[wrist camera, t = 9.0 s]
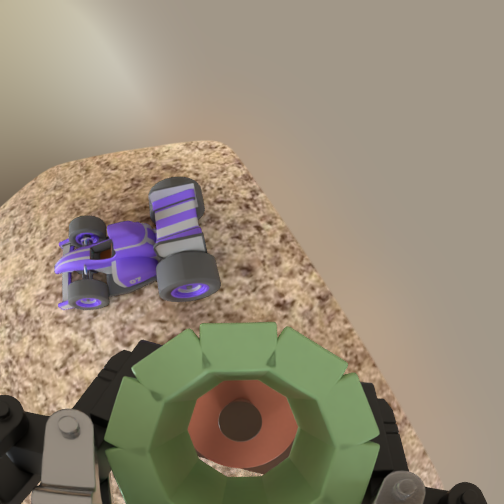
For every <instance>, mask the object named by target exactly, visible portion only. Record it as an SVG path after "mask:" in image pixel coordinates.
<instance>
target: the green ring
mask: <svg viewBox="0 0 504 504" xmlns="http://www.w3.org/2000/svg"><path fill="white" fill-rule="evenodd" d="M347 366H348V363H347V362H346V361H344V360H343V359H341V358H339V357H338V356H336V355H334V354H333V353H331V352H330V351H328V350H326V349H325V348H323V347H321V346H320V345H318V344H317V343H315V342H313V341H312V340H310V339H308V338H307V337H305V336H304V335H302V334H300V333H299V332H297V331H296V330H294V329H293V328H291V327H288V326H287V327H285V328H284V329H283V331H282V332H281V334H280V335H279V337H278V338H277V324H276V323H275V322H253V323H202V324H200V339H199V338H198V337H197V335H196V334H195V333H194V332H193V330H191V329H190V328H189V329H186V330H184V331H183V332H181V333H180V334H179V335H177V336H176V337H174V338H173V339H171V340H170V341H169V342H167V343H166V344H164V345H163V346H161V347H160V348H158V349H157V350H155V351H154V352H153V353H151V354H150V355H148V356H147V357H145V358H144V359H142V360H141V361H139V362H138V363H137V364H135V365H134V366H133V367H132V372H133V373H134V375H135V376H136V378H132V377H126V376H124V377H123V379H122V382H121V385H120V388H119V391H118V394H117V397H116V401H115V404H114V407H113V410H112V413H111V417H110V420H109V423H108V427H107V430H106V433H105V437H104V440H105V441H106V442H108V443H110V444H112V445H114V446H115V447H112V448H109V449H107V450H105V453H106V456H107V459H108V462H109V464H110V467H111V469H112V472H113V475H114V477H115V480H116V482H117V484H118V487H119V489H120V491H121V494H122V496H123V498H124V500H125V503H126V504H361V503H362V500H363V498H364V495H365V492H366V489H367V486H368V484H369V481H370V478H371V475H372V472H373V469H374V465H375V462H376V459H377V456H378V452H379V449H380V445H379V444H377V443H374V442H371V441H369V440H371V439H373V438H375V437H377V436H378V435H379V429H378V426H377V424H376V421H375V419H374V416H373V413H372V411H371V408H370V406H369V403H368V401H367V398H366V396H365V393H364V391H363V388H362V386H361V383H360V381H359V378H358V376H357V374H356V373H349V374H344V372H345V370H346V368H347ZM343 374H344V375H343ZM227 380H259V381H261V382H262V383H264V384H266V385H267V386H269V387H270V388H272V389H273V390H275V391H277V392H278V393H280V394H282V395H283V396H285V397H286V398H287V400H288V403H289V405H290V408H291V410H292V413H293V415H294V418H295V420H296V423H297V425H298V429H297V433H296V436H295V439H294V442H293V445H292V449H291V452H290V455H289V457H288V458H287V459H285V460H284V461H282V462H281V463H280V464H278V465H277V466H276V467H274V468H273V469H271V470H270V471H268V472H267V473H265V474H264V475H263V476H257V477H227V476H225V475H223V474H222V473H220V472H218V471H217V470H215V469H214V468H212V467H210V466H209V465H207V464H206V463H204V462H203V461H201V460H200V459H199V458H198V455H197V453H196V450H195V448H194V445H193V443H192V440H191V438H190V435H189V432H188V430H187V429H188V426H189V423H190V420H191V417H192V414H193V411H194V407H195V404H196V401H197V399H198V398H200V397H201V396H203V395H204V394H206V393H207V392H208V391H210V390H211V389H213V388H214V387H216V386H217V385H218V384H220V383H221V382H223V381H227Z"/></svg>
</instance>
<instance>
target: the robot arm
mask: <svg viewBox="0 0 504 504" xmlns="http://www.w3.org/2000/svg"><path fill="white" fill-rule="evenodd" d="M161 346H163V345H160V344H156V343H152V342H149V341H145V340H141V341H140V342H139V343H138V344H137V346H136V347H135V348H134V350H133V351H132V352H130V351H126V350H123V351H121V352H119V353H118V354H116V355H114V356H112V357H111V358H110V360H109V361H108V362H107V364H106V365H105V366H104V369H102V370H101V371H100V373H99V374H98V377H96V378H95V379H94V381H93V382H92V383H91V385H90V386H89V387H88V388H87V390H86V391H85V392H84V394H83V395H82V396H81V398H80V399H79V400H78V402H77V403H76V405H75V406H74V407H73V408H72V409H62V410H59V411H57V412H55V413H53V414H52V415H51V416H44V415H39V414H34V413H30V412H25V411H24V410H23V408H22V405H21V404H20V402H19V401H18V400H17V399H16V398H14V397H12V396H9V395H0V504H21V503H22V502H23V501H24V499H25V498H26V497H27V496H28V495H29V494H30V492H31V491H32V495H31V504H114V499H113V491H112V481H111V473H110V471H111V467H110V464H109V462H108V459H107V456H106V453H105V450H107V449H109V448H112V447H115V446H114V445H112V444H110V443H108V442H106V441H105V440H104V437H105V433H106V430H107V427H108V423H109V420H110V417H111V413H112V410H113V407H114V404H115V401H116V397H117V394H118V391H119V388H120V385H121V382H122V379H123V377H124V376H126V377H132V378H136V376H135V375H134V373H133V372H132V367H133V366H134V365H135V364H137V363H138V362H139V361H141V360H142V359H144V358H145V357H147V356H148V355H150V354H151V353H153V352H154V351H155V350H157V349H158V348H160V347H161ZM360 383H361V386H362V388H363V391H364V393H365V396H366V398H367V401H368V403H369V406H370V408H371V411H372V413H373V416H374V419H375V421H376V424H377V426H378V429H379V435H378V436H377V437H375V438H373V439H371V440H369V441H371V442H374V443H377V444H379V445H380V449H379V452H378V456H377V459H376V462H375V465H374V469H373V472H372V475H371V478H370V481H369V484H368V486H367V489H366V492H365V495H364V498H363V500H362V503H361V504H487V502H486V500H485V498H484V496H483V494H482V492H481V490H480V489H479V488H478V487H477V486H476V485H474V484H472V483H468V482H462V483H459V484H457V485H455V486H454V487H453V488H452V489H451V490H450V491H446V490H439V489H434V488H429V487H425V486H424V484H423V482H422V480H421V479H420V478H419V477H418V476H417V475H415V474H414V473H411V472H409V469H408V466H407V462H406V458H405V454H404V450H403V446H402V442H401V438H400V435H399V434H398V432H399V431H398V427H397V424H396V420H395V417H394V413H393V410H392V409H391V407H390V406H389V405H388V403H387V402H386V401H385V400H384V399H378V398H377V396H376V392H375V388H374V385H373V384H372V383H365V382H360ZM40 481H41V483H40V485H39V486H37V484H38V483H39V482H40Z"/></svg>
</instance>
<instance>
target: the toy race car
mask: <svg viewBox="0 0 504 504" xmlns="http://www.w3.org/2000/svg"><path fill="white" fill-rule="evenodd" d="M149 208H150V217H151V220H152V221H153V222H154V223H155V224H156V229H152V227H151V226H150V225H148V224H146V223H139V222H134V223H133V222H132V221H123V222H119V223H114V224H110V225H108V226H107V233H108V236H107V237H106V225H105V223H104V221H103V220H101V219H100V218H98V217H95V216H80V217H77V218H75V219H73V220H72V221H71V223H70V225H69V238H68V239H66V240H64V241H62V242H60V243H59V246H60V247H61V248H62V249H63V257H62V258H61V259H60V260H59V261H58V262H57V263H56V264H55V266H54V267H55V270H54V272H55V273H56V274H60V273H62V294H63V302H62V303H59V304H58V307H59V308H61V309H63V310H65V309H71V308H77V309H82V310H93V309H99V308H102V307H105V306H107V305H108V304H109V297H112V296H117V295H122V294H126V293H130V292H133V291H135V290H137V289H139V288H141V287H143V286H146V285H148V284H150V283H152V282H154V281H156V280H157V282H158V290H159V295H160V297H161V298H162V299H164V300H167V301H172V302H187V301H193V300H198V299H202V298H205V297H207V296H209V295H211V294H213V293H215V292H216V291H218V290H219V288H220V286H221V283H220V278H219V274H218V269H217V265H216V260H215V258H214V257H213V256H212V255H210V254H208V253H207V249H206V244H205V240H204V235H203V233H202V231H201V227H199V224H198V220H199V219H200V218H201V217H202V216H203V214H204V211H205V207H204V202H203V196H202V191H201V187H200V185H199V184H198V183H197V182H196V181H194V180H192V179H190V178H186V177H171V178H167V179H164V180H162V181H160V182H158V183H157V184H155V185H154V186H153V187H152V189H151V190H150V192H149ZM74 247H78V249H75V250H74ZM74 271H76V272H78V273H79V274H82V278H83V280H77V281H74V282H72V283H71V272H74ZM98 272H102V273H106V274H107V284H106V283H104V282H102V281H99V280H93V273H98ZM84 274H85V279H84ZM86 274H87V279H86ZM88 274H89V278H88Z"/></svg>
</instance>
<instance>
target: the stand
mask: <svg viewBox="0 0 504 504" xmlns="http://www.w3.org/2000/svg"><path fill="white" fill-rule="evenodd" d="M297 429H298V425H297V423H296V420H295V418H294V415H293V413H292V410H291V408H290V405H289V403H288V400H287V398H286V397H285V396H283V395H282V394H280V393H278V392H277V391H275V390H273V389H272V388H270V387H269V386H267V385H266V384H264V383H262V382H261V381H259V380H227V381H223V382H221V383H220V384H218V385H217V386H216V387H214V388H213V389H211V390H210V391H208V392H207V393H206V394H204V395H203V396H201V397H200V398H198V399H197V401H196V404H195V407H194V411H193V414H192V417H191V420H190V423H189V426H188V429H187V430H188V432H189V435H190V438H191V440H192V443H193V445H194V448H195V450H196V453H197V455H198V456H199V457H202V458H205V459H208V460H211V461H213V462H215V463H217V464H220V465H223V466H227V467H233V468H240V469H244V470H248V471H252V472H256V473H261V474H265V473H267V472H268V471H270V470H271V469H273V468H274V467H276V466H277V465H278V464H280V463H281V462H282V461H284V460H285V459H287V458H288V457H289V455H290V452H291V449H292V445H293V442H294V439H295V436H296V433H297Z"/></svg>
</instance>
